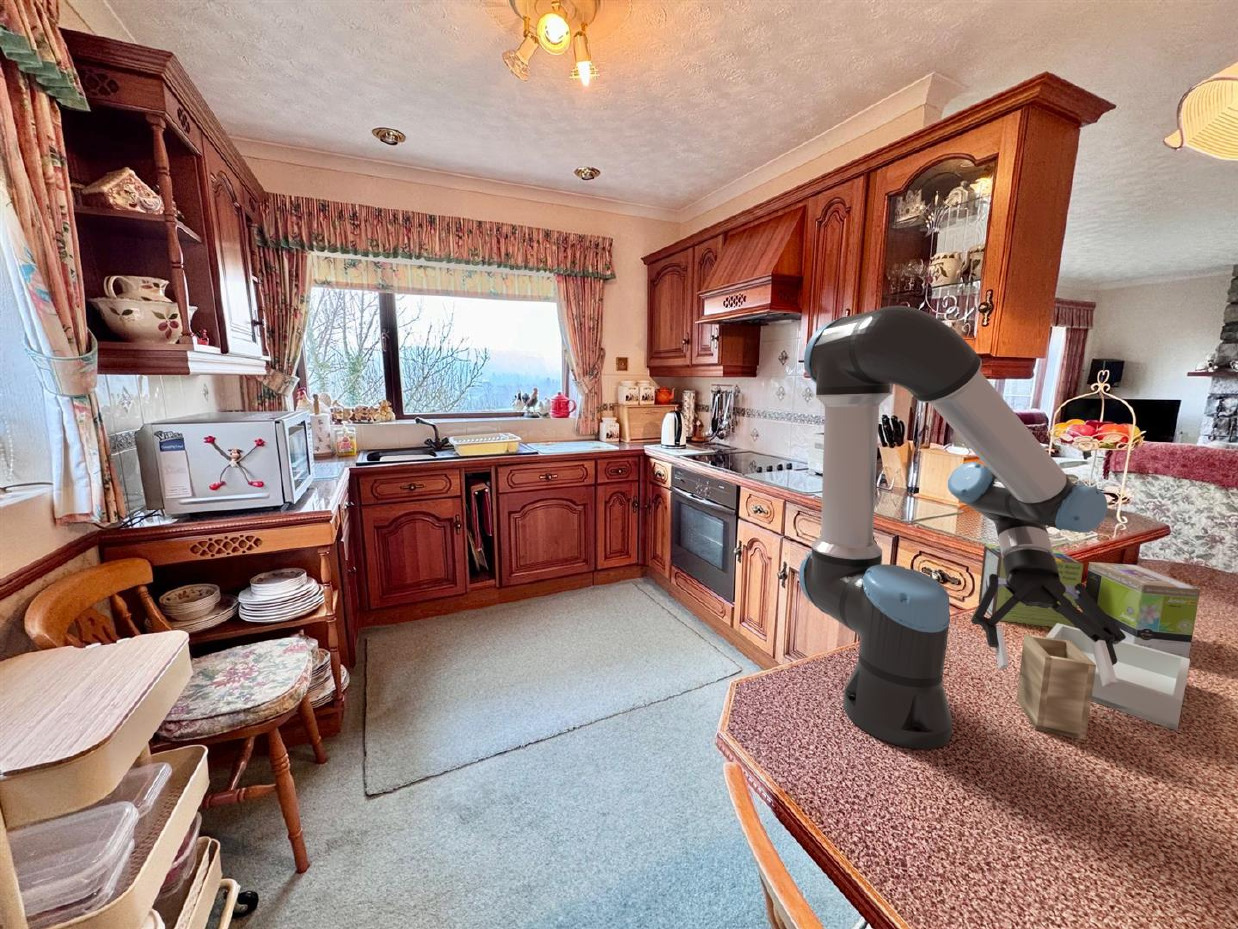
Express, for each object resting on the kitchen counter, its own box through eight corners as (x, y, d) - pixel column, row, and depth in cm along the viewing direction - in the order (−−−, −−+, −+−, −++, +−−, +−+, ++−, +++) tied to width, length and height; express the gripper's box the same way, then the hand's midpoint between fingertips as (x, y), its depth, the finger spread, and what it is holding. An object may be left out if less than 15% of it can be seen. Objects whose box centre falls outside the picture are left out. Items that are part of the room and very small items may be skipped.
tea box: (1191, 660, 97) (1203, 588, 95) (1131, 654, 99) (1142, 584, 97) (1129, 626, 111) (1139, 563, 109) (1078, 621, 113) (1086, 560, 111)
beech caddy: (1036, 730, 76) (1045, 657, 74) (1016, 700, 83) (1024, 634, 81) (1085, 740, 73) (1096, 665, 72) (1060, 709, 81) (1069, 640, 79)
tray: (1028, 679, 89) (1032, 653, 89) (1054, 645, 102) (1057, 623, 101) (1177, 731, 75) (1182, 701, 75) (1185, 685, 88) (1190, 659, 87)
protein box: (1076, 630, 109) (1085, 563, 107) (994, 620, 113) (1001, 556, 111) (1051, 611, 119) (1059, 549, 117) (976, 603, 123) (983, 543, 121)
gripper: (1104, 575, 88) (1144, 699, 77) (943, 558, 97) (957, 667, 86) (1126, 555, 83) (1173, 685, 71) (953, 540, 92) (969, 653, 80)
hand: (1055, 676), depth 78 cm, fingers open, 13 cm apart
